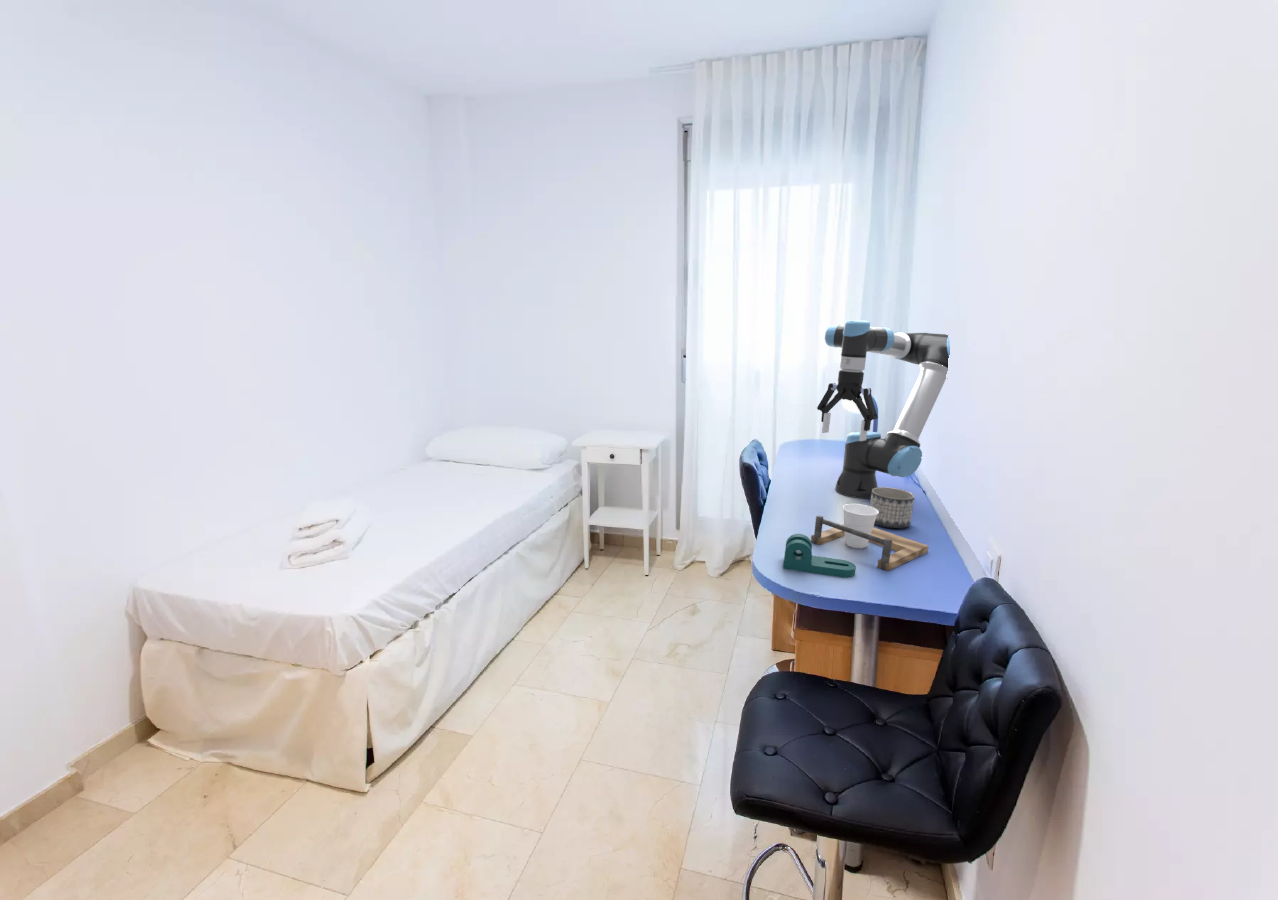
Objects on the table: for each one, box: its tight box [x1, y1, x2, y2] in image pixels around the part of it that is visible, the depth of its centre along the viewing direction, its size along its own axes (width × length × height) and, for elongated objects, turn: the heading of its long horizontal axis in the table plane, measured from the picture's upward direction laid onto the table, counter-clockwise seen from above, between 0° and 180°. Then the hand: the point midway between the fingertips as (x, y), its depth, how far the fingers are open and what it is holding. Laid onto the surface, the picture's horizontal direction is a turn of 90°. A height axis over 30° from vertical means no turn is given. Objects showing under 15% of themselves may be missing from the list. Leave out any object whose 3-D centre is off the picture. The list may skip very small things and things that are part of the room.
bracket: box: [782, 533, 857, 579], centre depth 158 cm, size 18×7×8 cm, turn 74°
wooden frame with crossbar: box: [810, 515, 930, 572], centre depth 173 cm, size 22×24×8 cm
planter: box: [869, 486, 916, 529], centre depth 193 cm, size 13×13×10 cm
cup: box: [841, 503, 879, 550], centre depth 174 cm, size 10×10×11 cm
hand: (843, 436), depth 195 cm, fingers open, 13 cm apart
